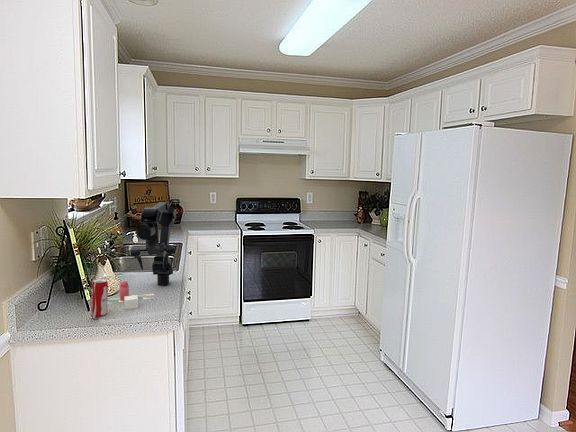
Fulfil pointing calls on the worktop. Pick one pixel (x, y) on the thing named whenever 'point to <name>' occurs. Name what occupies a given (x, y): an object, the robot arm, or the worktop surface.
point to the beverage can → (99, 298)
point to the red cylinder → (124, 290)
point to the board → (140, 297)
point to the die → (131, 302)
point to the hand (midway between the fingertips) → (153, 268)
